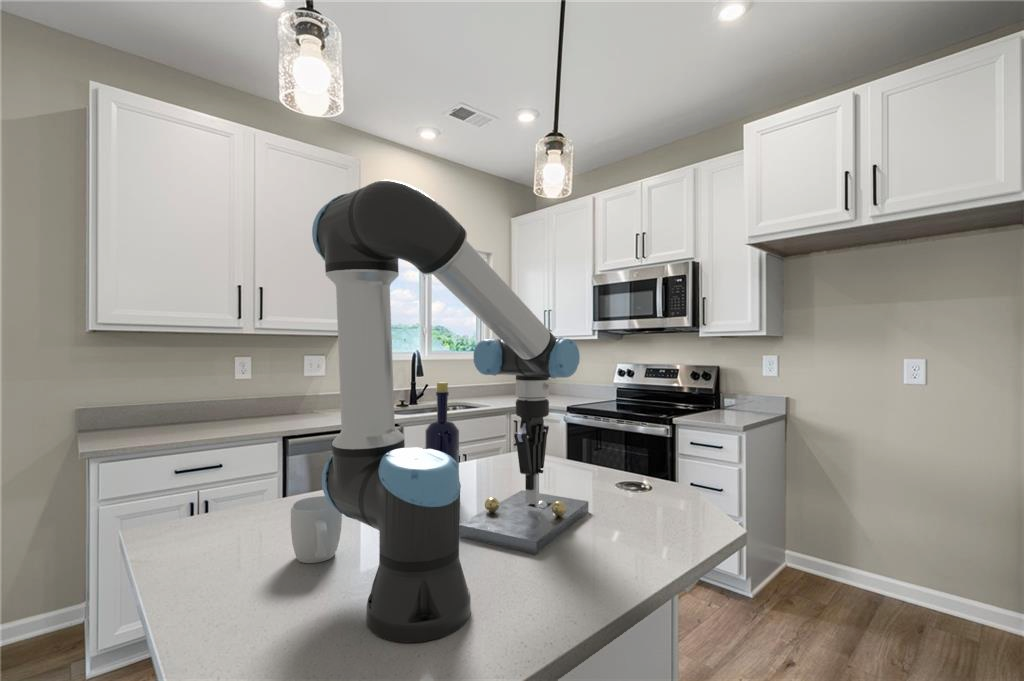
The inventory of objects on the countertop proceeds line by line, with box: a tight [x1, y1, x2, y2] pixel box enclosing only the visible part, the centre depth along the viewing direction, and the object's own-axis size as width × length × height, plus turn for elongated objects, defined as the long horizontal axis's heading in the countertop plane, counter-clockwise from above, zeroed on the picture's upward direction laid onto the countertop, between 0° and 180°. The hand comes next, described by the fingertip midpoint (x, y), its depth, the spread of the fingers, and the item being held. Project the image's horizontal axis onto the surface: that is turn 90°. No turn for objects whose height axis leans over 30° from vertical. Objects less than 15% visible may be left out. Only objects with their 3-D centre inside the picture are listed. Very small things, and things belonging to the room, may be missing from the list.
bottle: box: [424, 381, 460, 469], centre depth 128 cm, size 9×9×30 cm
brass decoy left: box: [484, 497, 500, 512], centre depth 111 cm, size 3×3×3 cm
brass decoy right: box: [551, 501, 566, 517], centre depth 109 cm, size 3×3×3 cm
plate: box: [459, 490, 589, 556], centre depth 111 cm, size 28×18×2 cm, turn 151°
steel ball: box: [535, 501, 548, 509], centre depth 117 cm, size 3×3×3 cm
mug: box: [290, 495, 343, 564], centre depth 92 cm, size 13×9×10 cm
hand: (532, 502), depth 113 cm, fingers closed
